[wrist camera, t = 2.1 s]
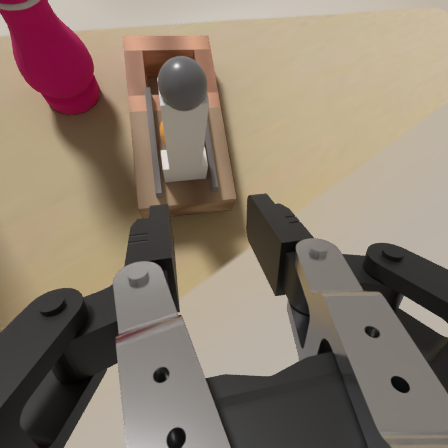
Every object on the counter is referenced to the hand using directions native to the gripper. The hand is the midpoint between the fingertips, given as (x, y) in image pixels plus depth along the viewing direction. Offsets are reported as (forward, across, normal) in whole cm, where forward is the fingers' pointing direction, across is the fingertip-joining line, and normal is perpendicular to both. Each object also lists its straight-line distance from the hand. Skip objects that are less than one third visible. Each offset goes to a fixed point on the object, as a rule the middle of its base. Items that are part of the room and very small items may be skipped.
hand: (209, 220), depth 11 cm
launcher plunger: (+18, 0, +5) cm, 19 cm away
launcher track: (+26, 0, +2) cm, 26 cm away
